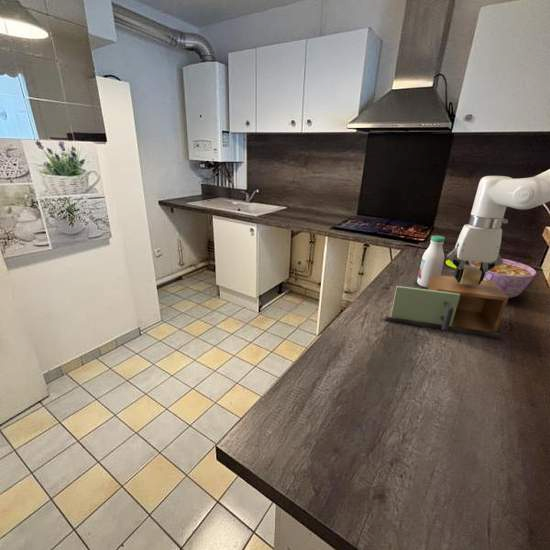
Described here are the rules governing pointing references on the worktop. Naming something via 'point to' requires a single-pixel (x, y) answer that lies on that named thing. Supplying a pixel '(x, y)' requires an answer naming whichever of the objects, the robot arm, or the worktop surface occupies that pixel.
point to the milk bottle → (431, 261)
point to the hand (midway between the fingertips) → (467, 281)
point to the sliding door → (425, 305)
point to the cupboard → (469, 306)
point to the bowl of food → (509, 276)
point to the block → (471, 275)
